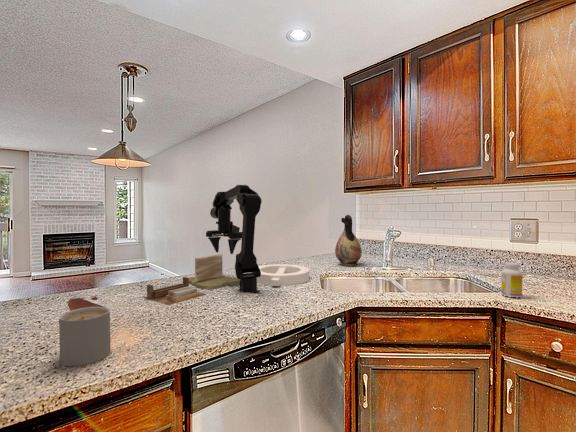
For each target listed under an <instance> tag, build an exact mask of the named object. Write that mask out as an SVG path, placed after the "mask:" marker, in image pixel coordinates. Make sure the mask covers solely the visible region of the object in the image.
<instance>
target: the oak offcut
mask: <svg viewBox="0 0 576 432" xmlns="http://www.w3.org/2000/svg"><path fill="white" fill-rule="evenodd" d="M197 296H199V291H197V292H196V293H192V294H189V295H185V296H181V297H173V296H169V295H166V300H169V301H173V302H178V303H181V302H180V301H182V302H184V301H183V300H185V301H188V300H187V299H189V300H191V299H190V298H192V299H195V298H194V297H196V298H198V297H197ZM199 297H200V296H199Z"/></svg>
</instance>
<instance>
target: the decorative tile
mask: <svg viewBox="0 0 576 432" xmlns="http://www.w3.org/2000/svg"><path fill="white" fill-rule="evenodd" d="M188 278H189V285H191V287H195V288H197V289H202V290H207V291H214V290H216V289H217V290H218V289H222V288H225V287H231V288H234V286H235V287H239V286H240V279H237V277H233V276H227V275H223V274H222V276H221V277H217V278H212V279H208V280H203V281H199V282H195V276H192V277H188Z"/></svg>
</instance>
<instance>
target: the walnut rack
mask: <svg viewBox="0 0 576 432" xmlns="http://www.w3.org/2000/svg"><path fill="white" fill-rule="evenodd" d="M189 278H190V277H187V276H183V277H182V283H178V284H173V285H169V286H164V287H159V288H154V285H152V284H146V296H143V297H142V299H145V300H149V301H153V302H156V303H159V304H163V305H166V306H171V305H174V304H177V303H181V302H184V301H185V302H186V301H189V300H191V299H195V298H199V297H203V296H206V295H207V293H204V292H199V291H198V292H199V296H197V297H194V298H190V299H187V300H183V301H180V302H173V301H169V300H166V295H168V291H171V290H175V289H179V288H183V287H187V286H189V287H190V284H189Z"/></svg>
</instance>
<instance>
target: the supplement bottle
mask: <svg viewBox="0 0 576 432" xmlns="http://www.w3.org/2000/svg"><path fill="white" fill-rule="evenodd" d="M504 267H505V268H504V269H502V270H501V287H500V288H501V291H500V293H501V296H503V295H505V296H510V297H521V298H522V297H523V272H522V270H520V269H519V268H520V263H516V262H504ZM505 296H504V297H505Z"/></svg>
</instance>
